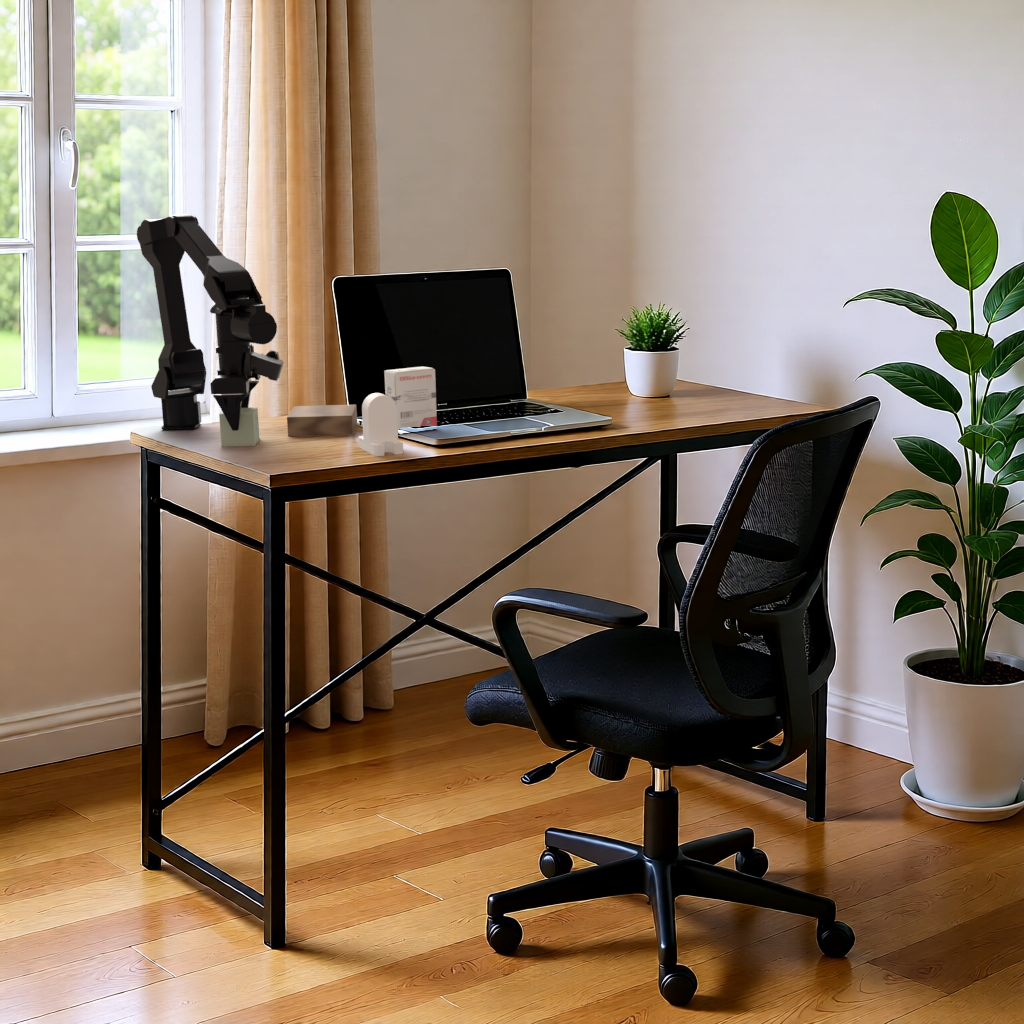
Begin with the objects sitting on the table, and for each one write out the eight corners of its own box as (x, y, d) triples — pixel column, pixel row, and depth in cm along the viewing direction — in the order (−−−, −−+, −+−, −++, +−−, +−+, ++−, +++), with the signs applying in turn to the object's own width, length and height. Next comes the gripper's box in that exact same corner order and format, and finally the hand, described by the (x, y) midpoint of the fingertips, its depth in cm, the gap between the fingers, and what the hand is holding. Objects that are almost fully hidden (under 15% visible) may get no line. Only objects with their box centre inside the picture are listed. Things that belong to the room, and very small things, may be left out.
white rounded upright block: (375, 456, 239) (372, 399, 237) (357, 446, 248) (355, 391, 246) (404, 453, 241) (402, 396, 239) (386, 443, 250) (383, 388, 248)
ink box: (426, 426, 266) (424, 364, 263) (438, 430, 261) (436, 367, 259) (385, 431, 261) (383, 368, 258) (397, 435, 257) (394, 372, 254)
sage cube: (221, 446, 251) (219, 414, 249) (226, 440, 256) (224, 408, 255) (255, 445, 251) (252, 413, 249) (259, 439, 257) (257, 407, 255)
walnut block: (288, 438, 259) (286, 417, 258) (295, 426, 270) (294, 406, 269) (352, 436, 259) (351, 415, 258) (357, 424, 271) (356, 404, 270)
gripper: (272, 345, 240) (277, 434, 244) (285, 332, 258) (289, 415, 262) (207, 347, 240) (213, 435, 244) (224, 334, 258) (230, 416, 262)
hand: (239, 425), depth 253 cm, fingers open, 9 cm apart
